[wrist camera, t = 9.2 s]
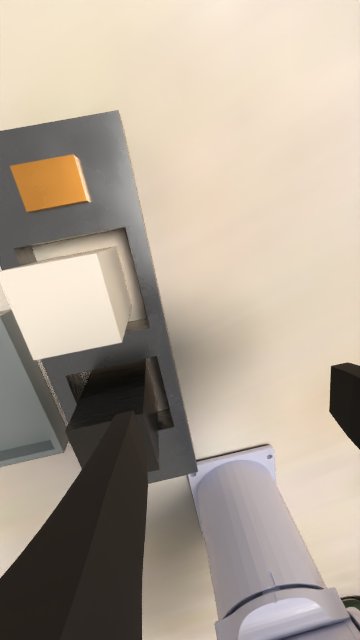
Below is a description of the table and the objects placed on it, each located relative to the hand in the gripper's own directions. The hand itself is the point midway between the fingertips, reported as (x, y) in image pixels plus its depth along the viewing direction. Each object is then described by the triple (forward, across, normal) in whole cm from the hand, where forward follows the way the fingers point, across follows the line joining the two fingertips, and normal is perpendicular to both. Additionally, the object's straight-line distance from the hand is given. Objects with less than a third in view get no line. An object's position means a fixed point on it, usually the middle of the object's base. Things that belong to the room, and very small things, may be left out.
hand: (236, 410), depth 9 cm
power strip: (+9, +6, 0) cm, 11 cm away
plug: (+10, +6, -4) cm, 12 cm away
